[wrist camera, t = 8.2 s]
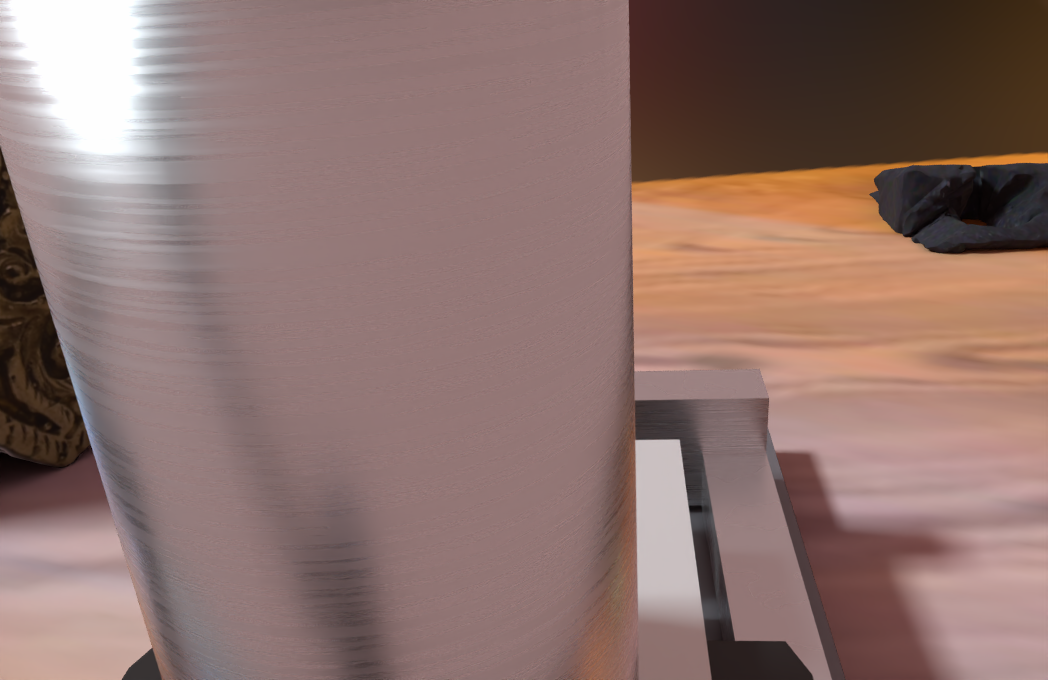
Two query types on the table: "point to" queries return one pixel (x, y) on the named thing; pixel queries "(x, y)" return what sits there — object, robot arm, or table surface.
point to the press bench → (812, 592)
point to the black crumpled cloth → (967, 205)
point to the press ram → (372, 334)
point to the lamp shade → (31, 354)
